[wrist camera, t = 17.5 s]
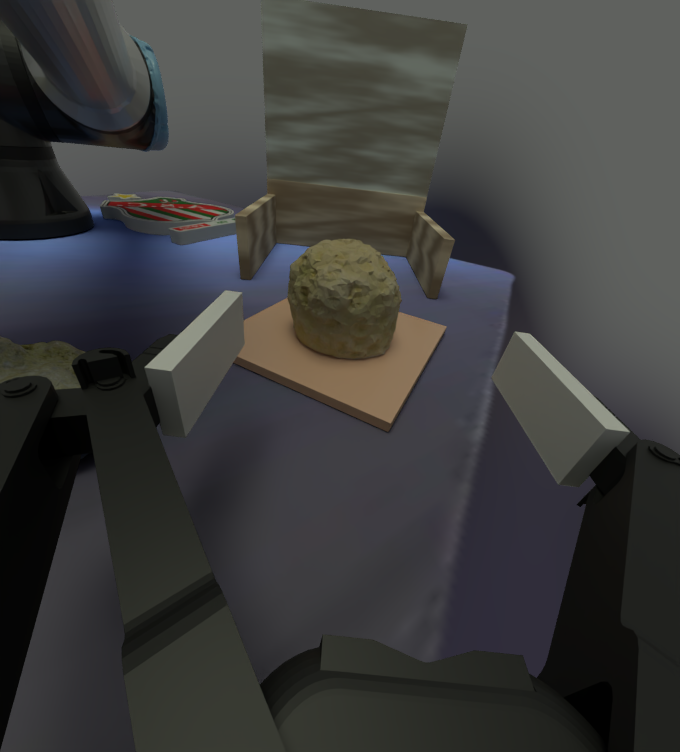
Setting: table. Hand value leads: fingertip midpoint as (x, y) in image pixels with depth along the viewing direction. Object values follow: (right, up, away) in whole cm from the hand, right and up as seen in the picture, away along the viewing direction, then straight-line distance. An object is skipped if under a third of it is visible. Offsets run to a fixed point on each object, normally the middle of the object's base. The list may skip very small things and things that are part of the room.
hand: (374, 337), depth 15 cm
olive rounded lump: (-2, +2, +13) cm, 13 cm away
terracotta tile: (-2, +1, +13) cm, 13 cm away
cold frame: (-2, +14, +30) cm, 33 cm away
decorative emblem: (-34, +27, +43) cm, 61 cm away
